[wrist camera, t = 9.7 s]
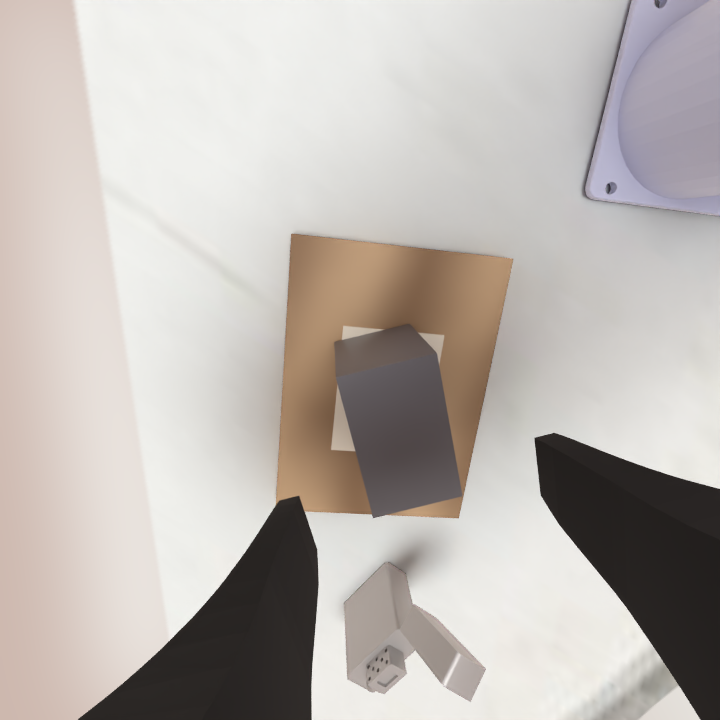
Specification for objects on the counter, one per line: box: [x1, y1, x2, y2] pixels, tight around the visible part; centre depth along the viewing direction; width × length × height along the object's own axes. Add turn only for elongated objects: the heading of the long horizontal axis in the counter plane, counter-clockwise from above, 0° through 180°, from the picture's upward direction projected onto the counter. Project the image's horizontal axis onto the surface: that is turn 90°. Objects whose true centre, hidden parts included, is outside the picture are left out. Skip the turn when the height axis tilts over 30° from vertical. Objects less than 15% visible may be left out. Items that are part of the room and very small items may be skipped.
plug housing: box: [334, 324, 463, 518], centre depth 17 cm, size 4×6×5 cm, turn 13°
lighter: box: [344, 562, 486, 702], centre depth 20 cm, size 7×2×8 cm, turn 140°
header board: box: [276, 234, 513, 518], centre depth 19 cm, size 10×14×3 cm
